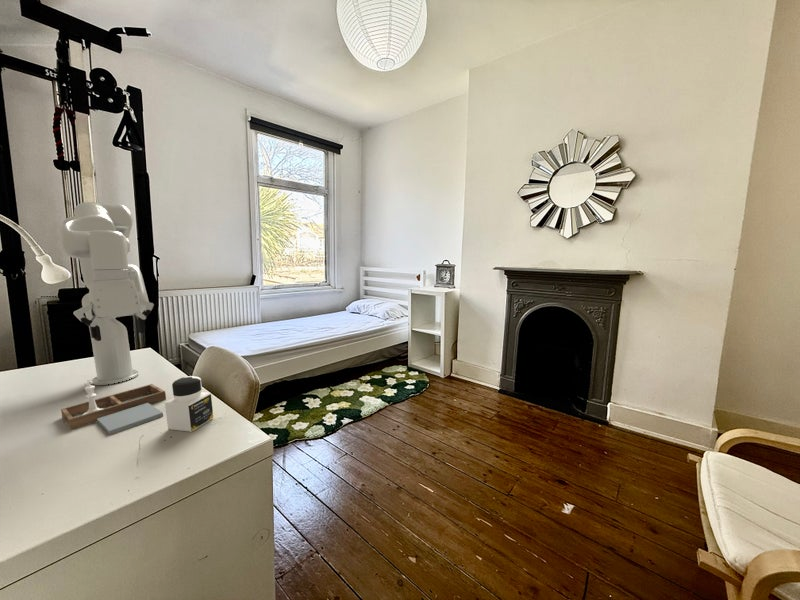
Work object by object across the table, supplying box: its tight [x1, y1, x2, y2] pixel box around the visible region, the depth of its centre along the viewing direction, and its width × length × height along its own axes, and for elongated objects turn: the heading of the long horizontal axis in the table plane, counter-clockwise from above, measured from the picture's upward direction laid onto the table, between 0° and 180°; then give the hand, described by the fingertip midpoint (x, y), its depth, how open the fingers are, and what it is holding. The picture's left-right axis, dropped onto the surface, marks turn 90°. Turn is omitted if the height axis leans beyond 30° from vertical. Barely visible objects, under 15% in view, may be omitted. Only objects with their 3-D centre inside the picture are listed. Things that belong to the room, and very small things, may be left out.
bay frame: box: [60, 383, 167, 430], centre depth 92 cm, size 11×20×2 cm, turn 145°
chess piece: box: [82, 379, 102, 415], centre depth 88 cm, size 5×5×10 cm
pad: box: [96, 403, 164, 436], centre depth 85 cm, size 11×11×1 cm
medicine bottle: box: [164, 375, 214, 433], centre depth 82 cm, size 7×7×12 cm
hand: (120, 336), depth 92 cm, fingers open, 9 cm apart
